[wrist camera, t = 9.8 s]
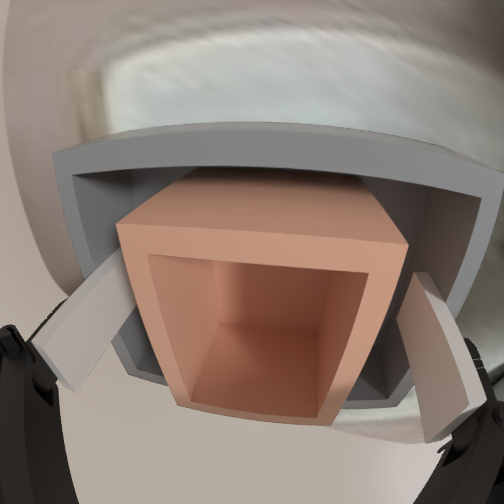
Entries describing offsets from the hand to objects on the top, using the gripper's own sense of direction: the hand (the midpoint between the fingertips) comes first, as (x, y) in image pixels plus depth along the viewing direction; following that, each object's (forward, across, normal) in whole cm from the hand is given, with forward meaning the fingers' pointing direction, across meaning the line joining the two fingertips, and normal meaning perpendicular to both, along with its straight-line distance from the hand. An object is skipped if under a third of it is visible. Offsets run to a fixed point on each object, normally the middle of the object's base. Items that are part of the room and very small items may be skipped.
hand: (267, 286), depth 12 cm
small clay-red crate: (+2, 0, 0) cm, 2 cm away
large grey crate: (+3, 0, 0) cm, 3 cm away
